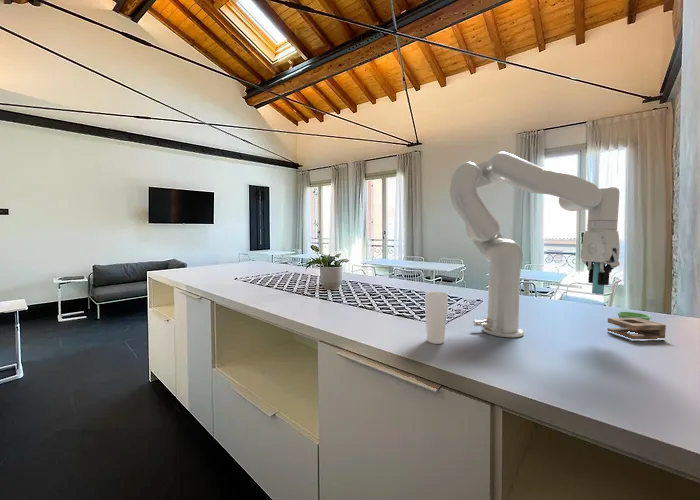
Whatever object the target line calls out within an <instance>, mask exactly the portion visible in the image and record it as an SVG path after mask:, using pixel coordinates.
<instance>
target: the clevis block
mask: <svg viewBox="0 0 700 500" xmlns="http://www.w3.org/2000/svg"><path fill="white" fill-rule="evenodd" d="M607 323H608V324H611V325H614V326H617V327H609V328H606V329H607V330H608V331H611V332H614V333H617V334H620V335H623V336H625V337H628V338H631V339H657V338H665V339H666V328H667V327H666V324H664V323H661V322H656V321H653V320H645V319H642V318H619V317H607ZM628 331H630V332H635V333H638V334H630V333H627V332H628Z"/></svg>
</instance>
